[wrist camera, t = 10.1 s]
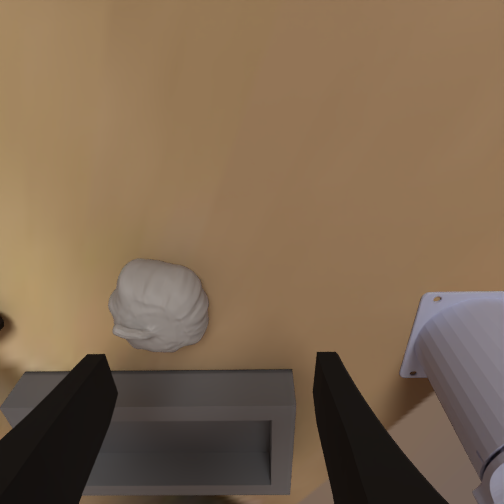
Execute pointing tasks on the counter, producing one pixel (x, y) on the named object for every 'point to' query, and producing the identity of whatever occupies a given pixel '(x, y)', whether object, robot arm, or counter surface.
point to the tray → (186, 431)
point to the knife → (1, 323)
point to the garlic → (158, 306)
